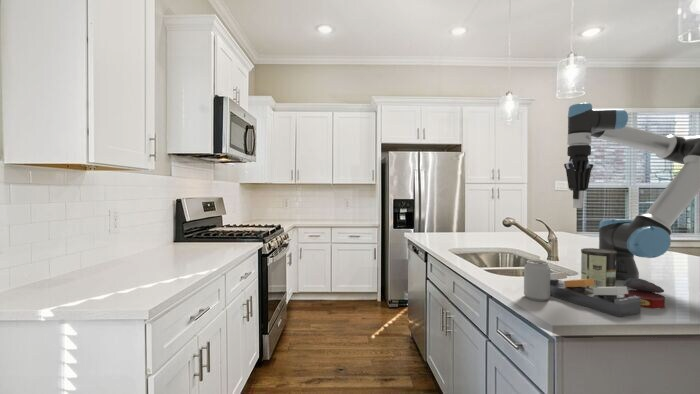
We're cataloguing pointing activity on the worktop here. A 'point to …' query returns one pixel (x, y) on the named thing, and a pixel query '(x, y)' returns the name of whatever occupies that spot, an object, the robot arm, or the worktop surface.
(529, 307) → the worktop surface
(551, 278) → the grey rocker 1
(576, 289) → the dark grey tray
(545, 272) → the can
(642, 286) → the canned food
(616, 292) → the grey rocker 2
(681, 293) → the worktop surface
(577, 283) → the orange rectangular block
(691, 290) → the worktop surface
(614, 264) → the coffee can
